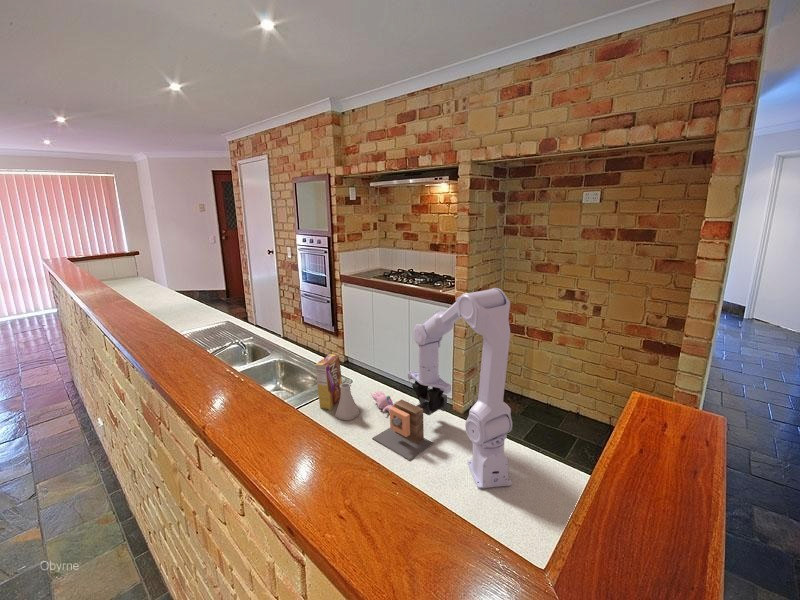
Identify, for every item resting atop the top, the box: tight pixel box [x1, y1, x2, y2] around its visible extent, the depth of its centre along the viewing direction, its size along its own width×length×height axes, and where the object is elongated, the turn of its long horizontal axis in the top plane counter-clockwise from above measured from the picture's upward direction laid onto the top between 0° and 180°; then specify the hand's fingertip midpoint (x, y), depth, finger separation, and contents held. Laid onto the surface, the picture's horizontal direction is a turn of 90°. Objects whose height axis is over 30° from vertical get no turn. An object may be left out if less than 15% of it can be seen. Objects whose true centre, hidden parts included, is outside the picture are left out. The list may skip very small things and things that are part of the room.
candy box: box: [314, 354, 343, 410], centre depth 127 cm, size 9×4×15 cm, turn 160°
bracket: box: [393, 399, 425, 444], centre depth 107 cm, size 3×8×9 cm, turn 46°
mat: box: [371, 427, 434, 461], centre depth 107 cm, size 10×14×1 cm
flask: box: [334, 382, 360, 421], centre depth 120 cm, size 7×7×10 cm
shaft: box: [392, 387, 448, 426], centre depth 109 cm, size 18×7×4 cm, turn 135°
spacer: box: [389, 407, 410, 437], centre depth 104 cm, size 2×6×6 cm, turn 46°
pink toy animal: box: [370, 390, 394, 414], centre depth 123 cm, size 6×6×15 cm
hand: (428, 407), depth 113 cm, fingers closed on shaft, 3 cm apart
